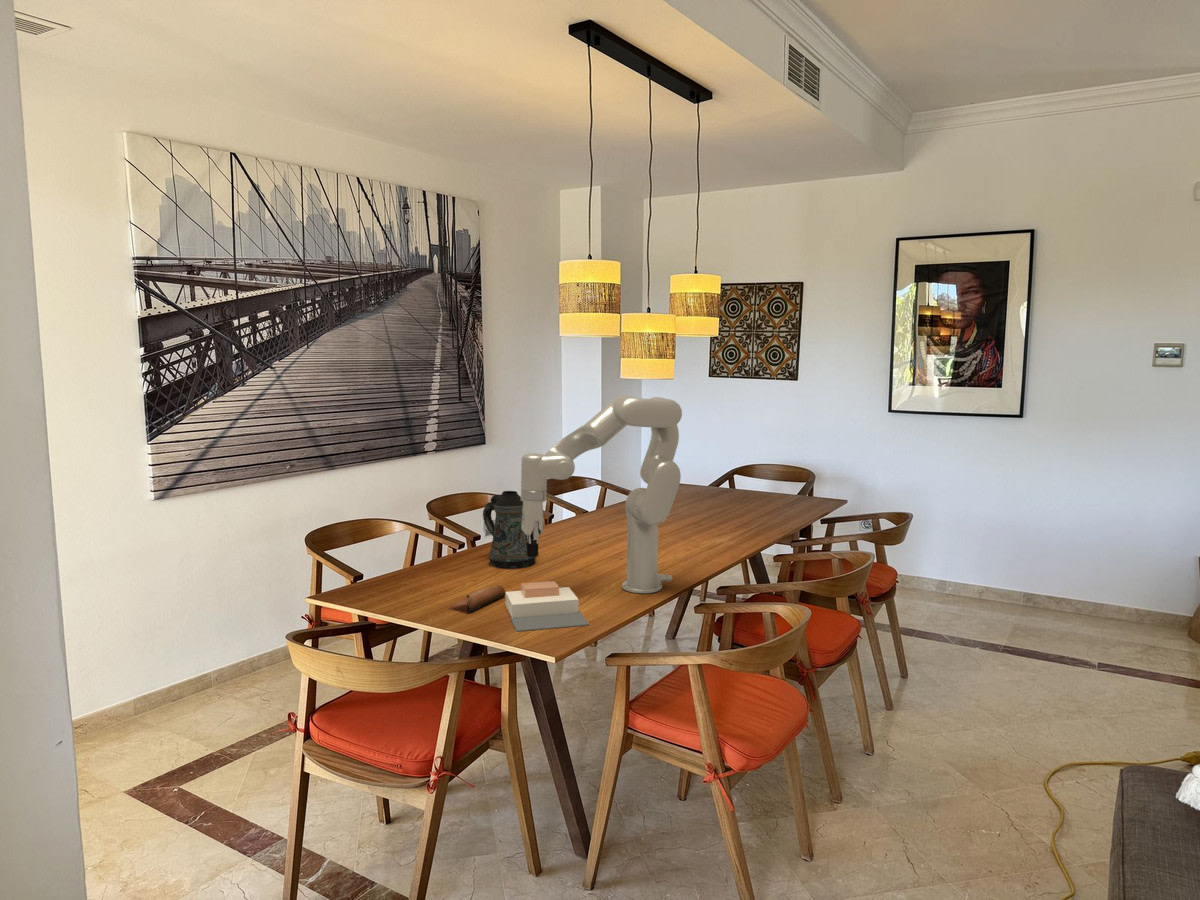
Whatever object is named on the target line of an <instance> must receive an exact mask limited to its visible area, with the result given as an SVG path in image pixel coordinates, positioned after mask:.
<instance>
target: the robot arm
mask: <svg viewBox="0 0 1200 900" xmlns="http://www.w3.org/2000/svg"><path fill="white" fill-rule="evenodd" d="M682 416H683V410H682V407H681V405H680V404H679V403H678V402H677V401H676V400H673V399H668V398H664V397H659V396H658V397H657V396H654V397H651V398H644V397H637V396H636V397H635V396H629V395H619V396H617V397H616V398H614V399H612V401H610V402H609V403H608V404H607V405H606V406H604V407H603V408H602V409H601V410H600V411H599V412H598V413H597V414H595V415H594V416H593V417H592V418H591V419H590V420H588V421H587V422H586V423H584V424H583V425H581V426H580V427H578V428H577V429H575V430H574V431H572V432H571V433H569V434H567V435H566V436H564V437H562V439H561V440H559V441H557V442H556V444H555V445H554V446H552V447H551V448H550V449H549V450H548V451H547V452H546V453H545V454H542V453H538V452H537V453H536V452H533V453H532V452H531V453H530V452H529V453H525V454H524V455H522V457H521V464H520V465H521V473H520V474H521V475H520V476H521V478H520V497H521V501H523V507H522V523H521V529H522V530H523V532H524V533H525V534H526V535H527V556H528V557H536V558H537V557H538V556H539V536H541V535H542V534H543V532H544V531H543V529H544V502H546V501H547V484H548V483H547V480H548V479H551V480H552V479H553V480H558V481H559V480H561V481H563V480H567V479H569V478H571V477H572V475H574V473H575V469H576V467H575V466H576V465H575V462H574V460H575V459H577V458H578V457H579V456H581V455H582V454H584V453H586V452H588V451H591V450H595V449H599V448H601V447H603V446H605V445H606V444H607V443H609V441H611V440H612V439H613V438H614V437H615V436H616V435H617V434H618V433H620V432H621V431H622V430H623V429H624V428H626V427H627V426H629V427H630V426H631V427H638V428H640V427H641V428H650V429H651V430H650V431H651V436H650V440H649V444H648V446H647V447H648V448H647V450H646V453H645V456H644V459H643V460H642V461H643V462H642V464H641V466H640V471H639V475H640V478H641V479H642V481H643V482H644V483H645V484H647V486H646V487H637V488H635V489H632V490H631V491H630V492H629V493H628V495H627V497H626V500H625V515H626V524H627V525H626V527H627V543H626V544H627V549H626V552H627V553H626V555H627V557H626V580H624V581H623V582H622V583H621V588H622V589H623V590H624V591H625V592H626V591H627V592H629V593H634V594H652V593H653V594H654V593H657V592H660V591H661V590H662V589H663V584H662V583H663V582H672V581H673V576H672V574H667V575H666V574H665V573H661V574H660V573H659V572H658V563H659V562H658V553H659V551H658V549H659V547H658V546H659V545H658V544H659V528H658V526H659V524H662V523H663V522H664V521H665V520H666V519H667V518H668V516H669V515H670V512H671V510H672V506H673V504H674V501H675V498H676V495H677V493H678V490H679V486H680V483H681V477H682V475H681V474H682V473H681V469H680V467H679V465H678V464H677V463H676V462H675V461H674V459H675V455H676V452H677V449H678V444H679V440H680V438H679V437H680V433H679V426H678V424H679V423H680V422H681V419H682Z"/></svg>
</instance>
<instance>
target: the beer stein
mask: <svg viewBox="0 0 1200 900" xmlns="http://www.w3.org/2000/svg"><path fill="white" fill-rule="evenodd" d="M522 507H523V501H521V495H520V494H518V491H515V490H503V491H502V493H501V494H495V495H493V496H492V497H491V499H490V501H489V502H487V503H486V504H485V505H484V508H483V511H482V517H483V522H484V525H485V527H486V529H487V530H488V532H489V533H490V535H491V536H492V541H491V547H490V549H489V553H488V559H489V564H490V565H491V566H492V567H493V568H496V569H504V570H517V569H518V570H520V569H526V568H530V567H533V566H534V565H535V564H536V558H537V557H528V556H527V535H526V534H525V533H524V532H523V530H522V529H521V523H522ZM492 511H494V512H495V519H494V521H493V519H492V518H493V517H492Z"/></svg>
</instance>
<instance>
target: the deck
mask: <svg viewBox="0 0 1200 900" xmlns="http://www.w3.org/2000/svg"><path fill="white" fill-rule="evenodd" d="M504 598H505V607H506V609H507V610H508V613H509V615H510V616H511V618H520V617H532V616H544V615H556V614H567V613H579V602H580V601H579V600H580V599H579V598H578V597H577V596H576V594H575V593H574V591H572V589H571V588H570V587H569V586H568V587H566V586H565V587H559V595H557V596H544V597H531V598H525V597H524V596H523V594H522V592H521V590H514V591H513V590H512V591H505V596H504Z"/></svg>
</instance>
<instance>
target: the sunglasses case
mask: <svg viewBox="0 0 1200 900" xmlns="http://www.w3.org/2000/svg"><path fill="white" fill-rule="evenodd" d="M505 592H506V590H505V588H504V587H503V586H501V585H491V586H487V587H484V588H481V589H478V590H477V591H474V592H471V593H469V594H467V595H466V597H464V598H462V599H460V600H458V601H456V602H455V603H453V604H452V605H450V606H449V607H448V609H447V610H449V611H454V612H459V613H463V614H470V613H472V612H474V611H476V610H477V609H479V608H481V607H482V606H484V605H487V604H489V603H491V602H492V601H495V600H497V599H499V598H501V597H504V598H505Z"/></svg>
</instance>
